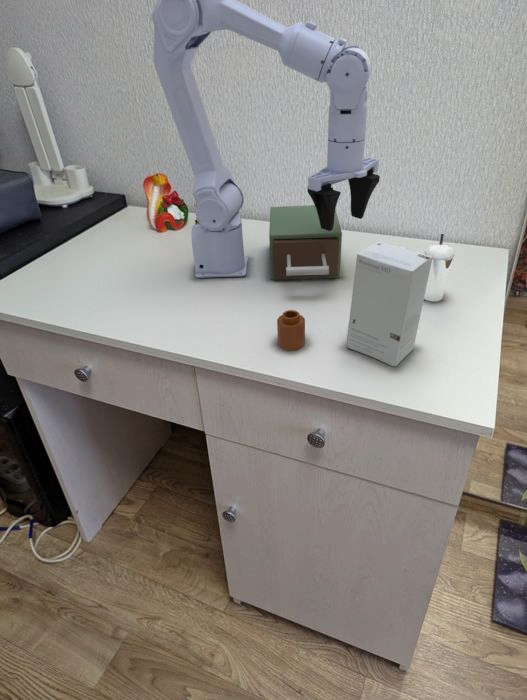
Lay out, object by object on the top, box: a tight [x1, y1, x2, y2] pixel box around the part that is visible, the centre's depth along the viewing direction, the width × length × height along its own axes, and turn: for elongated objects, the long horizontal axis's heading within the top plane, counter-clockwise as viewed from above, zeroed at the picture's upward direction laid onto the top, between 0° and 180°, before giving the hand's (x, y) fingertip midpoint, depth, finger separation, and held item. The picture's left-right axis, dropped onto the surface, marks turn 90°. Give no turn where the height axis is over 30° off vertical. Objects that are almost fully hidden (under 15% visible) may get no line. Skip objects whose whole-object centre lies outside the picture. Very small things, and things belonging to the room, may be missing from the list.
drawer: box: [273, 237, 339, 278], centre depth 90 cm, size 20×11×7 cm, turn 179°
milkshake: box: [424, 232, 456, 303], centre depth 80 cm, size 4×5×10 cm
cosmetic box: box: [346, 240, 432, 367], centre depth 67 cm, size 8×6×15 cm
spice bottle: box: [276, 309, 306, 352], centre depth 72 cm, size 4×4×5 cm
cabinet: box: [268, 205, 343, 281], centre depth 94 cm, size 15×13×9 cm
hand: (342, 223), depth 84 cm, fingers open, 7 cm apart
